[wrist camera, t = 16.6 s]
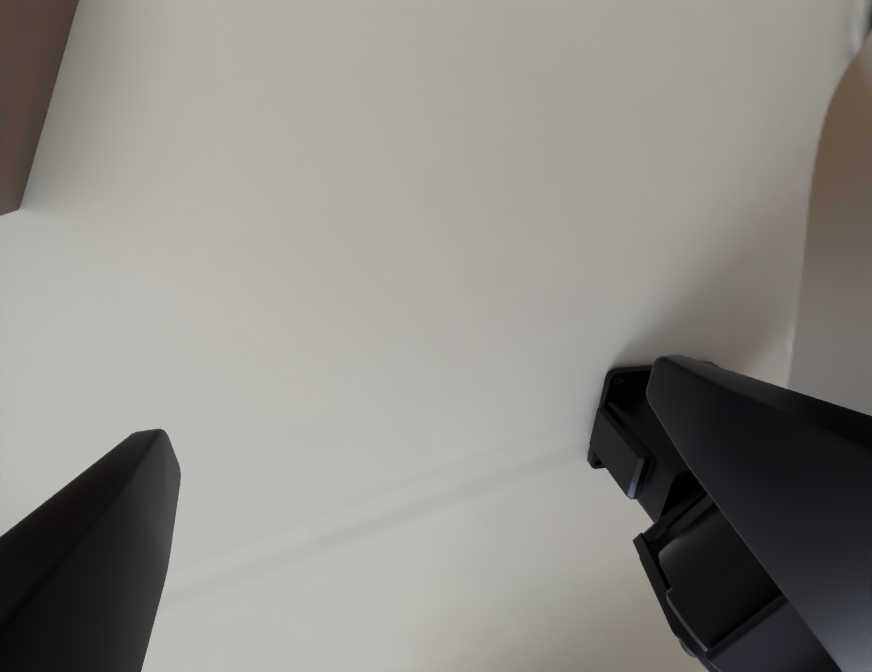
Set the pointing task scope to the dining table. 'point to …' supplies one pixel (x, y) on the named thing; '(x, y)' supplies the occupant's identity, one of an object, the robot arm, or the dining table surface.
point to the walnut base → (27, 84)
